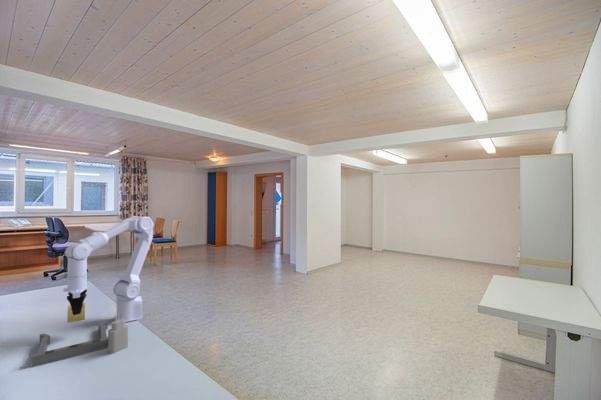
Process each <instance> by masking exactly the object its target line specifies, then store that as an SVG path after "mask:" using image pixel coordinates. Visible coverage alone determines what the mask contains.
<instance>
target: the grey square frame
mask: <svg viewBox="0 0 601 400" xmlns="http://www.w3.org/2000/svg"><path fill="white" fill-rule="evenodd" d="M108 326H109V321H108V320H104V321H102V322H101V323H99V324H98V326H97V327H98V330H97V331H98V334H99V337H100V338H97V339H93V340H89V341H85V342H80V343H76V344H71V345H67V346H63V347H58V348H55V349H50V350H48V347H49V345H51V335H49V334H48V333H41V334H39V347H38V350H37V352H36V353H34V354H32V356H31V368H34V367H38V366H42V365H46V364H50V363H52V362H53V363H54V362H58V361H60V360H65V359H69V358H70V359H71V358H73V357H77V356H80V355H81V356H82V355H86V354H90V353H94V352H97V351H102V350H106V349H108V334H107V330H109V329H108Z"/></svg>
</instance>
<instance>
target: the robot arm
mask: <svg viewBox="0 0 601 400" xmlns="http://www.w3.org/2000/svg"><path fill="white" fill-rule="evenodd" d="M154 226H155V223H154V222H153V220H152V218H151V217H149V216H140V215H139V216H137V215H132V216H130V217H128V218H125V219H124V220H122V221H121V222H118V223H117V224H115V225H114V226H112V227H110V228H108V229H107V230H105V231H104V232H101V231H97V232H96V231H94V232H92V233H91V235H89V236H87V237H86V238H83V239H78V242H73V243H71V244H69V245H68V246H67V247H66V249H65V251H64V255H65V257H66V258H67V287H66V288H63V293H65V292H68V293H67V296H66V300H67V302H69V304H70V305H71V308H72V313H73V315H77V314H80V313H81V310H82V305H83V303H84V301H85V299H86V298H87V294H86V293H87V291H88V257H89V256H90V255H91V253H93V252H94V251H97V250H98V249H100V248H101V247H104V246H106V245H107V244H108V243H109V240H111V239H112V238H115V237H116V236H118V235H121V234H122V233H124V232H126V231H131V232H133V233H134V234H135V235H136V237H137V241H136V244H135V246H134V249H133V251H132V255H131V258H130V259H129V262H128V265H127V268H126V270H125V272H124V274H123V275H121V276H120V277H119V279H118V281H117V282H116V283H115V284H114V286H113V288H112V289H113V290H112V291H113V293H114V295H115V296H116V320H119V319H120V316H122V319H125V323H129V322H133V321H137V320H142V319H143V298H142V296H141V295H139V293H140V290H141V288H140V285H141V279H140V273H141V271H142V269H143V265H144V263H145V260H146V259H147V255H148V252H149V250H150V247H151V244H152V242H153V238H154V234H153V233H154V232H153V231H154V230H153V229H154ZM70 305H69V306H70ZM132 317H133V318H132Z"/></svg>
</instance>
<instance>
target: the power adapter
mask: <svg viewBox="0 0 601 400" xmlns="http://www.w3.org/2000/svg"><path fill="white" fill-rule="evenodd" d="M116 317H117V314H115V315H114V321H112V322H111V324H110V326H111V329H107V331H108V332H107V333H108V334H107V337H108V348H107V351H108V352H107V353H109V354H116V353H118V352H121V351H123V350H125V349H126V348H128V347H129V346H128V345H129V325H127V324H126V322H125V319H122V316H120V319H119V320H116Z"/></svg>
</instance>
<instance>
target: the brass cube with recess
mask: <svg viewBox="0 0 601 400" xmlns="http://www.w3.org/2000/svg"><path fill="white" fill-rule="evenodd" d="M84 320H86V303H85V302H83V305H82V310H81V313H80V314H77V315H73V313H72V308H71V305H68V306H67V323H73V322H74V323H75V322H79V321H84Z"/></svg>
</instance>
